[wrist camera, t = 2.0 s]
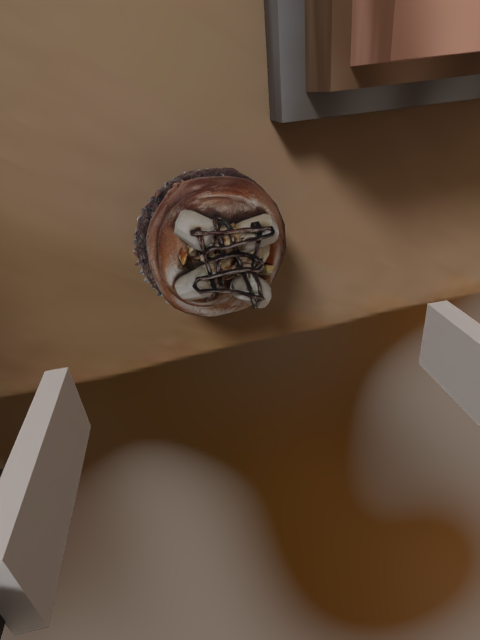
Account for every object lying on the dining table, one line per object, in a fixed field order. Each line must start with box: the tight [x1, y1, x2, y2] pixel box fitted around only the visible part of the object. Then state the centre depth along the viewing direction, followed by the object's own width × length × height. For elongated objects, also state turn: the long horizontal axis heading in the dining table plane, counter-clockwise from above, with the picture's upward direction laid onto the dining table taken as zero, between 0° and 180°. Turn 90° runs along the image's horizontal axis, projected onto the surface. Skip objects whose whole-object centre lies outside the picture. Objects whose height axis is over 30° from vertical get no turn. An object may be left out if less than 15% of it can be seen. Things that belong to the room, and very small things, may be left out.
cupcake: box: [133, 167, 286, 316], centre depth 26 cm, size 10×10×10 cm
